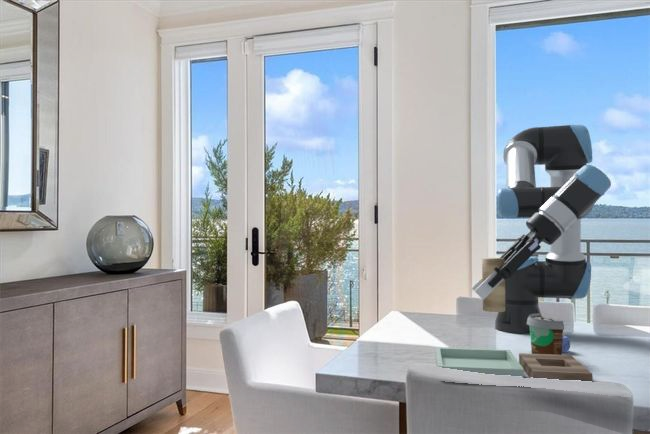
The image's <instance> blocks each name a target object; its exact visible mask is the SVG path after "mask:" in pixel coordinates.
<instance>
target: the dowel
mask: <svg viewBox="0 0 650 434" xmlns="http://www.w3.org/2000/svg"><path fill="white" fill-rule="evenodd" d="M504 262H505V259H504V258H500V257H482V258H481V271H482V272H481V278H482V283H483V282H484V281H485V280H486V279H487V278H488V277H489V276H490V275H491V274H492V273H493V272H494V271H495V270H494V268H495V267H497V268H498V269H499V268H500V267H501V265H502V264H503V263H504ZM495 272H496V271H495ZM496 273H497V272H496ZM482 311H484V312H488V313H498V312H504V311H506V310H505V279H504V280H503V281H502V282H501V283H500V284H499V285H498V286H497V287H496V288H495V289H494V290H493V291H492V292H491V293H490V294H489V295H488V296H487V297H486V298H485V299H484V300H483V299H482Z"/></svg>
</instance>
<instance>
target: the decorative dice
mask: <svg viewBox="0 0 650 434" xmlns="http://www.w3.org/2000/svg"><path fill="white" fill-rule="evenodd" d="M570 347H571V341H570V339H569V337H568V336H566V335H563V341H562V354H565V353H567V352H569V350H570Z"/></svg>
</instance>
